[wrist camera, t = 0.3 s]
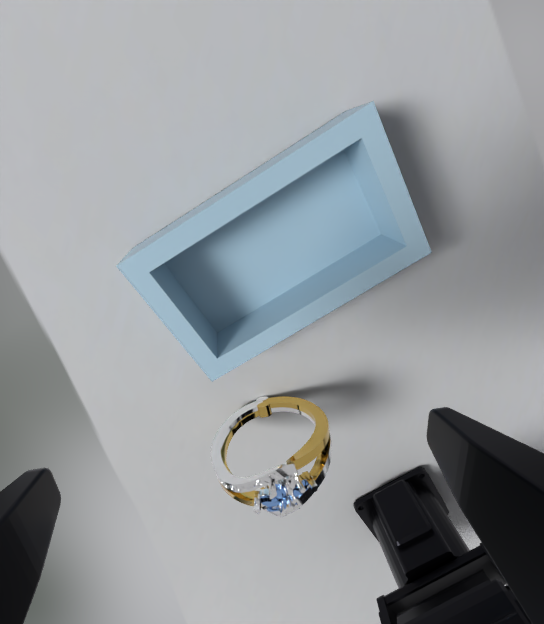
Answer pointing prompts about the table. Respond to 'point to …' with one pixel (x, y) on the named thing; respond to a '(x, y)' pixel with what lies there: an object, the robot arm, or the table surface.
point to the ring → (283, 478)
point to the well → (281, 244)
